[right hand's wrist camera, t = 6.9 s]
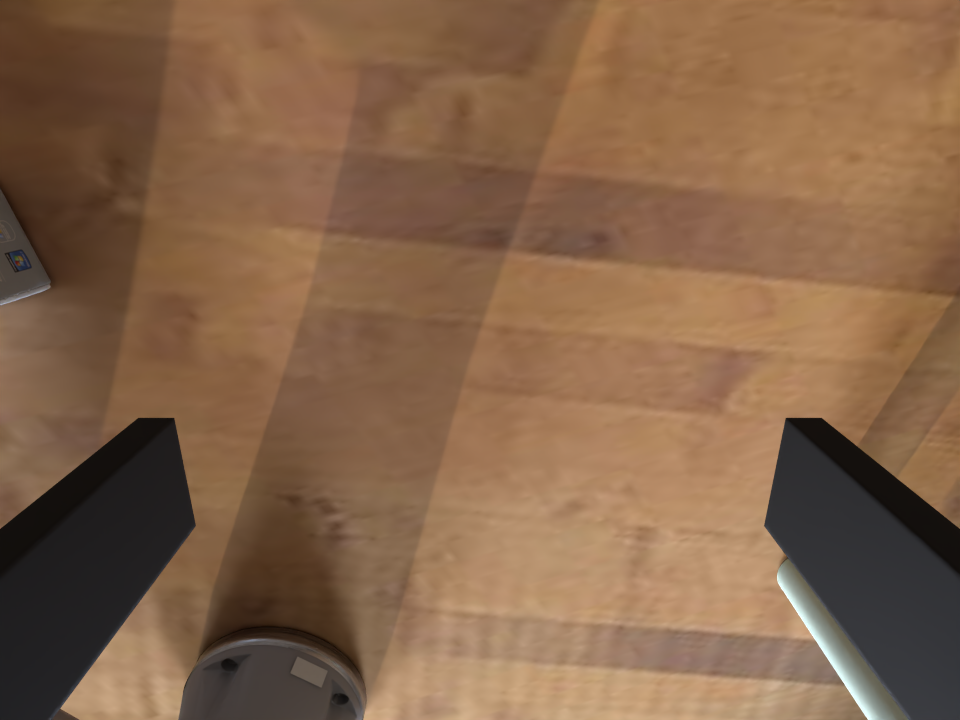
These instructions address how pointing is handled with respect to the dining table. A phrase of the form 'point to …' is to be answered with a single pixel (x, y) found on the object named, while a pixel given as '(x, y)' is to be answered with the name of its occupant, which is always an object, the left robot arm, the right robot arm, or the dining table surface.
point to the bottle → (838, 648)
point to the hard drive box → (17, 260)
